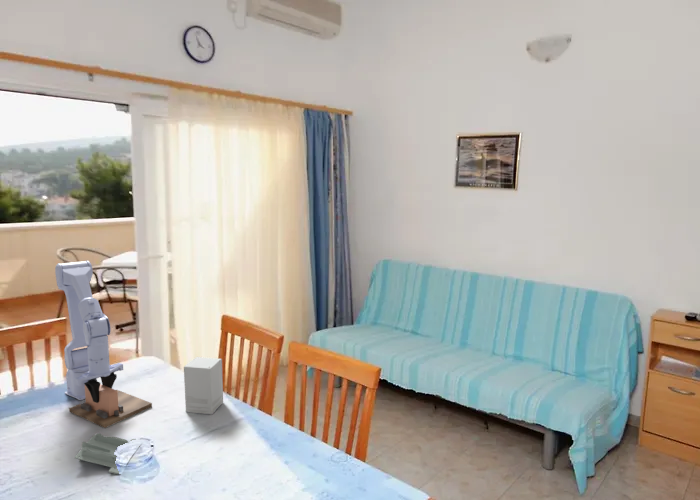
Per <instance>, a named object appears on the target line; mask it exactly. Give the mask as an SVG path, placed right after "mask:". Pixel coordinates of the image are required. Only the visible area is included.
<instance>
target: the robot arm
mask: <svg viewBox="0 0 700 500" xmlns="http://www.w3.org/2000/svg"><path fill="white" fill-rule="evenodd" d="M93 272H94V271H93V265H92V263H91V262H90V261H89V260H84V261H75V262H74V261H73V262H65V263H63V262H62V263H59V262H58V263H57V264H56V265H55V272H54V275H55V281H56V286H57V289H58V290H60V291H61V290H62V291H63V292H64V294H65V299H66V303H67V304H66V305H67V311H68V319H69V325H70V330H71V338H72V340H71V341H70V342H68V344H66V346H65V347H64V351H63V352H64V358H63V359H64V364H65V368H66V369H67V371H66V374H65V375H66V376H65V378H66V388H67V389H66V390H67V391H64V394H65V395H67V396H70V397H71V398H74V399H77V400H79V401H83V400H86V399H85V385H86V387H87V388H88V390H89V392H90V394H91V396H92V399H93V401H94V402H96V403H98V402H99V388H100V384H101V385H104V386H107V387H109V388H112V389H113V386H114V383H115V381H116V380H117V377H118V376H117V374H115V373H116V372H118V371H120V372H121V371H124V363H120V362H117V363H114V364H110V363H111V362H110V349H109V348H110V346H109V336H110V335H111V322H110V320H109V318H108V316H107V315H106V314H105V313H104V312H103V311H102V308H101V307H102V306H100V303H99V300H98V299H97V298H95V297H93V293H92V289H91V285H90V282H91V281H92V278H93V274H94V273H93ZM99 378H100V380H101V382H100V381H98V379H99Z"/></svg>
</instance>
